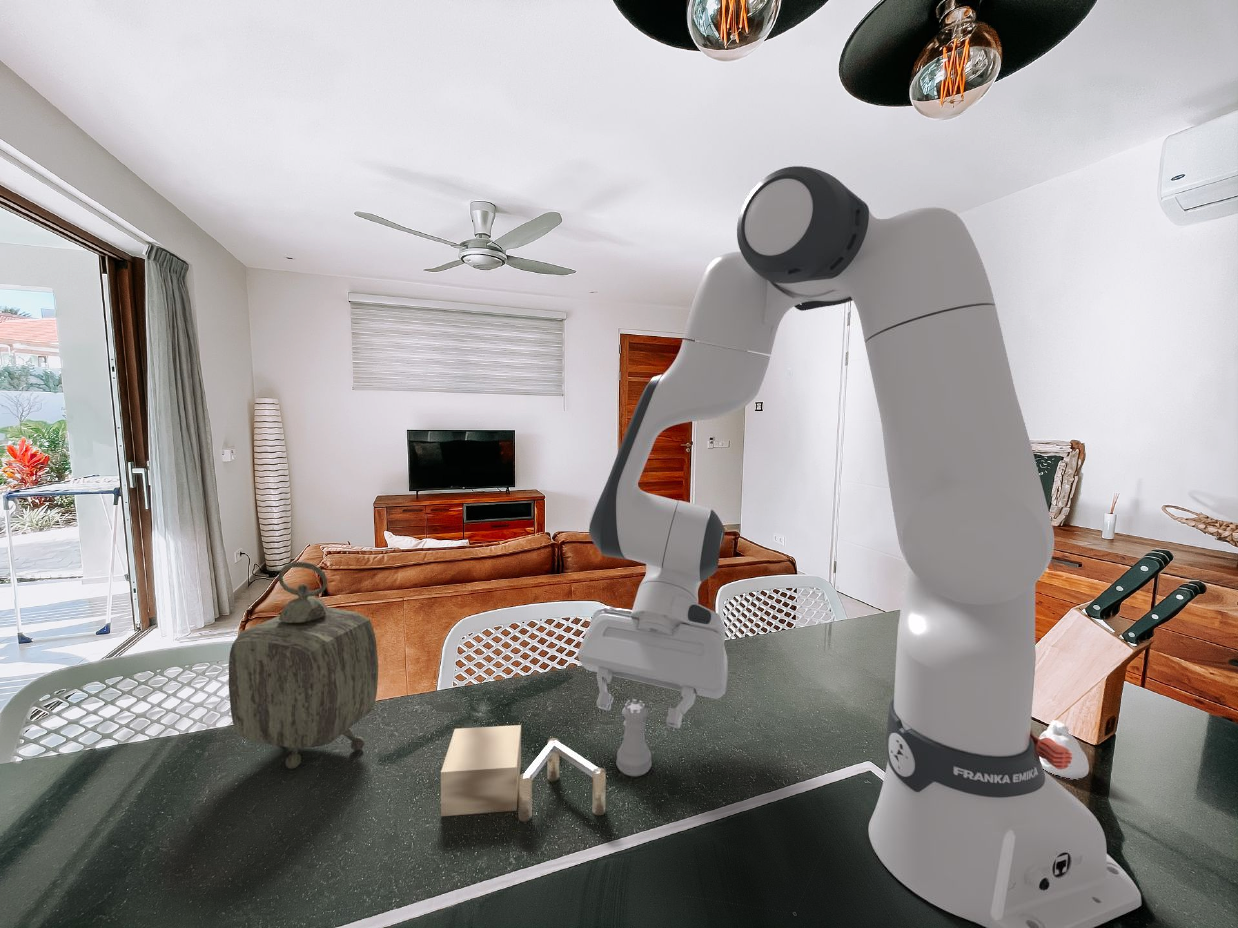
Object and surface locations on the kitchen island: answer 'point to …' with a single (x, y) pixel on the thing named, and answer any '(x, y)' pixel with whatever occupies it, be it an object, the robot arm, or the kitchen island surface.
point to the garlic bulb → (1079, 759)
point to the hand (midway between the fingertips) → (636, 716)
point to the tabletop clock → (303, 673)
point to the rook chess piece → (634, 741)
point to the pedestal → (481, 771)
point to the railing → (552, 759)
